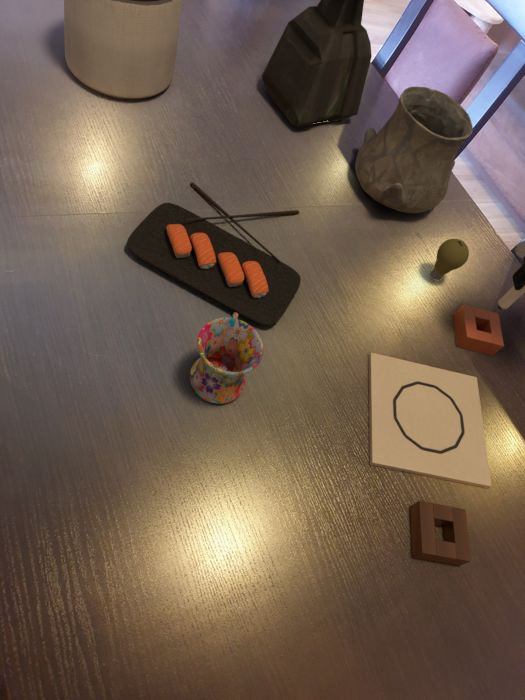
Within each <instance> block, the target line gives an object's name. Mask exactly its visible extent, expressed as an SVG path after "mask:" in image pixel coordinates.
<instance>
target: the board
mask: <svg viewBox="0 0 525 700" xmlns="http://www.w3.org/2000/svg"><path fill="white" fill-rule="evenodd" d="M480 398H481V397H480V390H479V383H478V377H477V376H474V375H468V374H465V373H461V372H456V371H453V370H449V369H444V368H439V367H435V366H431V365H427V364H423V363H418V362H413V361H410V360H405V359H401V358H397V357H393V356H388V355H383V354H380V353H375V352H370V353H369V354H368V421H369V422H368V424H369V425H368V426H369V427H368V430H369V432H368V433H369V434H368V435H369V437H368V438H369V465H370V466H373V467H374V466H375V467H379V468H384V469H389V470H395V471H399V472H404V473H409V474H413V475H417V476H424V477H428V478H434V479H438V480H444V481H449V482H454V483H459V484H465V485H469V486H474V487H478V488H483V489H489V488H491V487H492V480H491V472H490V465H489V458H488V450H487V442H486V436H485V435H486V434H485V427H484V422H483V421H484V420H483V414H482V413H483V412H482V405H481V399H480Z"/></svg>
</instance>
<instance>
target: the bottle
mask: <svg viewBox="0 0 525 700" xmlns="http://www.w3.org/2000/svg"><path fill="white" fill-rule="evenodd" d="M364 4H365V0H320V1H319V2H318V4H317V5H312V6H310V5H309V6H308V7H306V8H305V9H303V10H302V11H301V12H300V13H298V15H296V16H294V17H293V18H292V19H291V20H289V21H288V22H287V24H286V26H285V28H284V30H283V32H282V33H281V36H280V38H279V39H278V42H277V44H276V46H275V48H274V50H273V51H272V54H271V56H270V58H269V60H268V62H267V64H266V66H265V68H264V69H263V72H262V74H261V79H262V85H263V88H264V91H265V92H266V93H267V95H268V96H269V97H270V98H271V100H272V101H273V102H274V104H275V105H276V106H277V107H278V109H279V110H280V112H282V114H283V115H284V116H285V117H286V118H287V120H288V121H289V122H290V124H292V125H293V126H295V127H297V128H302V126H303V127H309V126H313V125H312V124H313V123H317V122H323V121H327V120H328V121H333V122H337V121H336V120H338V121H342V120H345V119H348V118H351V117H354V116H357V115H358V113H359V109H360V105H361V102H362V97H363V93H364V89H365V85H366V81H367V76H368V73H369V69H370V66H371V65H370V64H371V62H372V61H371V60H372V58H373V57H372V55H373V54H372V44H371V40H370V37H369V34H368V31H367V29H366V28H365V26H363V25H362V21H363V13H364ZM308 125H309V126H308Z"/></svg>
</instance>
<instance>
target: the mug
mask: <svg viewBox="0 0 525 700" xmlns="http://www.w3.org/2000/svg"><path fill="white" fill-rule="evenodd" d="M196 341H197V343H196V345H197V350H198V353H199V355H200V357H199V358H197V360H196V361H195V362H194V363H193V364H192V366H191V369H190V371H189V380H190V381H189V382H190V384H191V387H192V389H193V391H194V392H195V393H196V394H197V395H198V396H199V397H200V398H201V399H202V400H204V401H206V402H209V403H211V404H217V405H218V404H219V405H220V404H227V403H231V402H232V401H235V400H236V399H238V398H239V397H240V396H241V395H242V393H243V391H244V390H245V385H246V376H245V374H248V373H250V372H252V371H253V370H255V369H256V368H257V367H258V366H259V365H260V363H261V361H262V360H263V356H264V344H263V340H262V337H261V336H260V334H259V332H257V330H256V329H255V328H254V327H253V326H252V325H250V324H249V323H248V322H246V321H244V320H242V319H239V313H237V312H235V311H234V312H233V313H232V315H231V317H230V316H229V317H226V316H225V317H218V318H214V319H212V320H210V321H208V322H207V323H206V324H204V326H202V327H201V329H200V331H199V333H198V336H197V340H196Z"/></svg>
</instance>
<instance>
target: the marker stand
mask: <svg viewBox="0 0 525 700" xmlns="http://www.w3.org/2000/svg"><path fill="white" fill-rule="evenodd" d="M409 518H410V519H409V520H410V533H411V534H410V538H411V540H410V541H411V557H412V558H413V559H418V560H423V561H429V562H435V563H439V564H440V563H441V564H447V565H453V566H463V565H465V564H468V563H471V562H472V558H471V548H470V539H469V529H468V521H467V511H466V508H459V507H455V506H450V505H445V504H440V503H436V502H435V503H434V502H428V501H424V500H418V501H416V502H414V503H413V504H412V505H410V506H409ZM436 527H440V528H442V532H443V533H442V535H443V540H440V539H436V538H437V537H436Z"/></svg>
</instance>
